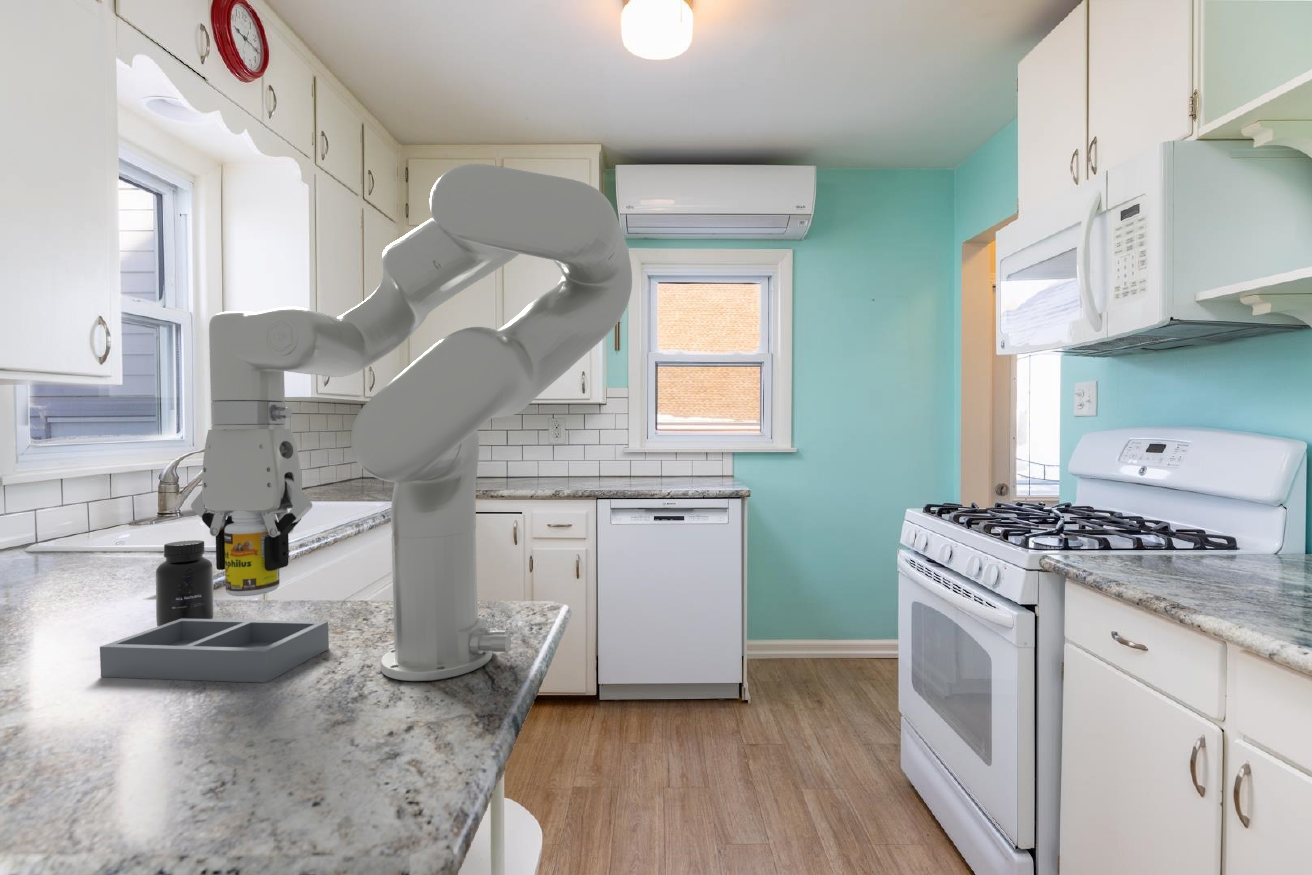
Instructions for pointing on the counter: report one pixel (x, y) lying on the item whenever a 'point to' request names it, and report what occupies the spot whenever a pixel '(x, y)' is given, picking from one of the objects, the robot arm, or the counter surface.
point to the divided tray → (215, 650)
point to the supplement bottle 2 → (247, 556)
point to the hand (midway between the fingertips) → (252, 566)
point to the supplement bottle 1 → (184, 583)
